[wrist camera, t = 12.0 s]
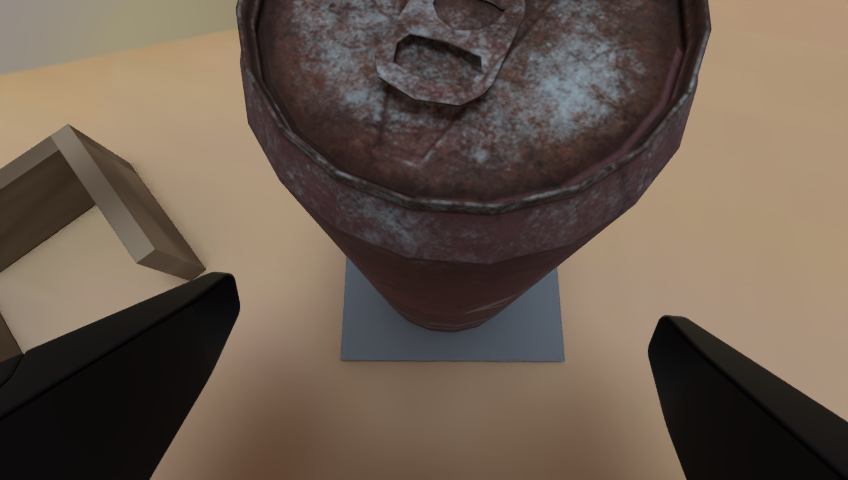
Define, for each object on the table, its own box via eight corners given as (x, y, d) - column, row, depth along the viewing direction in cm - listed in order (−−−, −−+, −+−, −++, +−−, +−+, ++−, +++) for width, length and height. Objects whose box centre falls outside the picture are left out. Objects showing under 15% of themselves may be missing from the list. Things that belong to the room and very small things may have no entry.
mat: (562, 361, 17) (564, 361, 17) (342, 360, 18) (340, 360, 17) (546, 159, 20) (548, 156, 19) (353, 161, 20) (352, 158, 20)
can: (496, 176, 19) (627, -254, 6) (535, 315, 18) (857, 162, 4) (364, 204, 19) (185, -169, 6) (391, 347, 17) (225, 300, 4)
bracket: (205, 269, 19) (155, 249, 15) (26, 407, 17) (-72, 418, 14) (129, 162, 20) (67, 124, 17) (-41, 281, 19) (-143, 265, 16)
